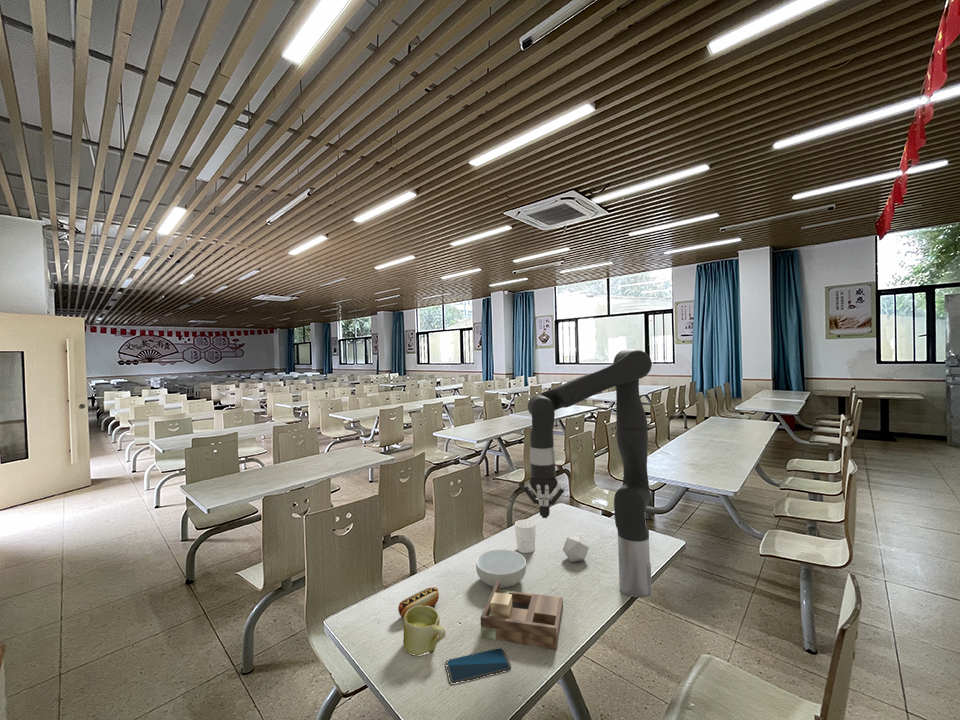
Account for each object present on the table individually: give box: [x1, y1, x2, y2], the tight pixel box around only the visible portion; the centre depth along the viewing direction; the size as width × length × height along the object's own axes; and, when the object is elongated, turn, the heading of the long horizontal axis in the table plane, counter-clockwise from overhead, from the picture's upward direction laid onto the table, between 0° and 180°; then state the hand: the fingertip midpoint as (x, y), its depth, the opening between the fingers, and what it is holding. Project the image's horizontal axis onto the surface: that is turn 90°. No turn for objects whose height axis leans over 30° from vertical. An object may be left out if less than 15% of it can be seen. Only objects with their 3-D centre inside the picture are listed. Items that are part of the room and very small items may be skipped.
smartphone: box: [445, 647, 512, 683], centre depth 102 cm, size 8×15×1 cm, turn 105°
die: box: [562, 535, 590, 563], centre depth 152 cm, size 8×9×10 cm
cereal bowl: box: [475, 549, 527, 589], centre depth 139 cm, size 17×17×7 cm
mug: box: [402, 605, 447, 656], centre depth 109 cm, size 12×10×10 cm
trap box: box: [480, 581, 564, 650], centre depth 118 cm, size 20×18×6 cm
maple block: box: [490, 593, 513, 619], centre depth 116 cm, size 5×5×5 cm
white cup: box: [514, 518, 536, 554], centre depth 161 cm, size 8×8×10 cm
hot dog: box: [397, 586, 440, 619], centre depth 125 cm, size 5×13×5 cm, turn 132°
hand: (544, 517), depth 129 cm, fingers closed
